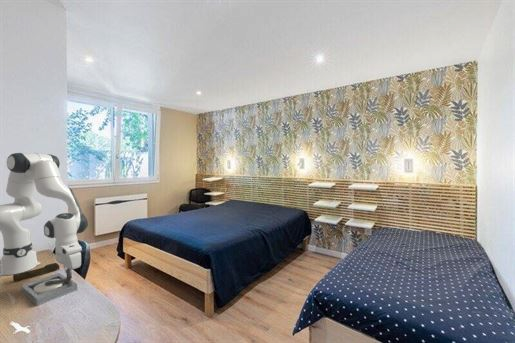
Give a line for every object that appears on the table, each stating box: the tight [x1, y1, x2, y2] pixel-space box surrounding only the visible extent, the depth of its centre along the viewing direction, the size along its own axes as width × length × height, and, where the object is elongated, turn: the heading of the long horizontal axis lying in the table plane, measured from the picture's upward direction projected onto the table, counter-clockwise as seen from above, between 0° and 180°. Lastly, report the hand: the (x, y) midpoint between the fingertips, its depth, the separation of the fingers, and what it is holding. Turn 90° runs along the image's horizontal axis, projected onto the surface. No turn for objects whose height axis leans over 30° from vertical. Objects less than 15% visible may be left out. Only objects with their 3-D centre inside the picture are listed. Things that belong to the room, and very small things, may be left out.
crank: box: [34, 269, 73, 295], centre depth 119 cm, size 11×14×8 cm
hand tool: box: [12, 262, 61, 283], centre depth 134 cm, size 19×4×5 cm, turn 136°
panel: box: [20, 272, 78, 307], centre depth 119 cm, size 22×16×3 cm
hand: (68, 273), depth 124 cm, fingers closed
